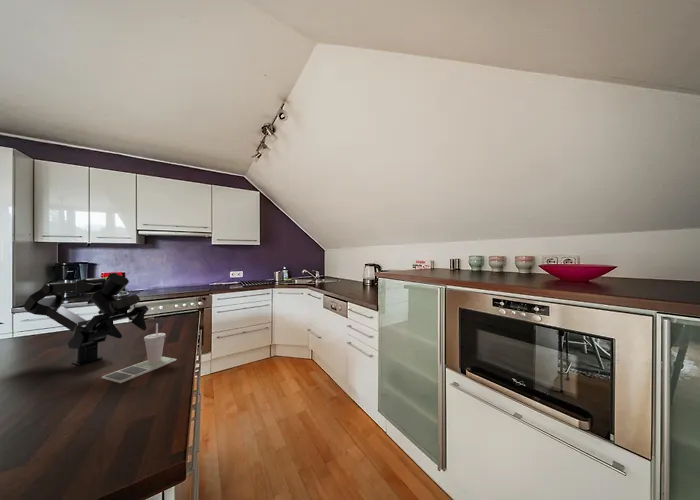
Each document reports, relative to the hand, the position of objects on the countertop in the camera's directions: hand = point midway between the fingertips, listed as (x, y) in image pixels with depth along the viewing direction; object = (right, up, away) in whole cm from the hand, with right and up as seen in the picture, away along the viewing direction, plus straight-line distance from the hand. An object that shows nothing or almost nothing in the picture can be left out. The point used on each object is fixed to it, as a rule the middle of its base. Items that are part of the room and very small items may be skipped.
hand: (133, 333), depth 91 cm
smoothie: (+9, -10, -1) cm, 14 cm away
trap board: (+7, -11, -5) cm, 14 cm away
